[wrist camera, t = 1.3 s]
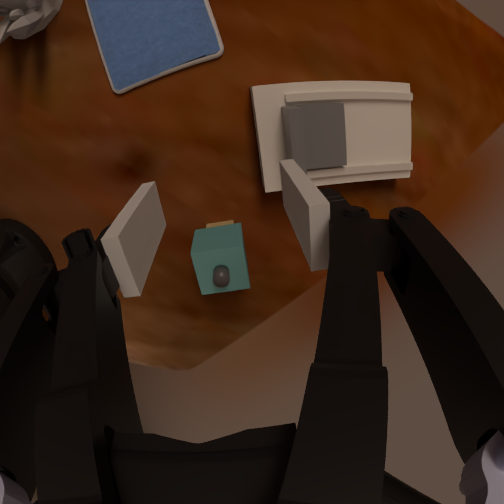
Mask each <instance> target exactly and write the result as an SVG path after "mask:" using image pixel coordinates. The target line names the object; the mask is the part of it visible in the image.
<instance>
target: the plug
mask: <svg viewBox="0 0 504 504" xmlns="http://www.w3.org/2000/svg"><path fill="white" fill-rule="evenodd" d="M191 257H192V261H193V265H194V268H195V272H196V276H197V279H198V283H199V286H200V290H201V293H202V295H205V294H213V293H220V292H227V291H234V290H241V289H248V288H250V282H249V273H248V264H247V258H246V251H245V245H244V239H243V233H242V227H241V223H236V224H234V221H233V220H230V221H223V222H217V223H211V224H206V228H204V229H198V230H195V233H194V238H193V243H192V249H191Z"/></svg>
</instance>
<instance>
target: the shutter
mask: <svg viewBox="0 0 504 504" xmlns="http://www.w3.org/2000/svg"><path fill="white" fill-rule="evenodd" d="M281 110H282V119H283V128H284V137H285V147H286V157H287V160H288V159H293V160H294V161H295V162H296V163H297V164H298V165H299V167H300V168H301V169H302V170H303V171H304V172H305V174H306V175H307V169H313V168H323V167H333V166H344V165H347V151H346V129H345V113H344V103H322V104H305V105H292V106H281Z"/></svg>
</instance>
